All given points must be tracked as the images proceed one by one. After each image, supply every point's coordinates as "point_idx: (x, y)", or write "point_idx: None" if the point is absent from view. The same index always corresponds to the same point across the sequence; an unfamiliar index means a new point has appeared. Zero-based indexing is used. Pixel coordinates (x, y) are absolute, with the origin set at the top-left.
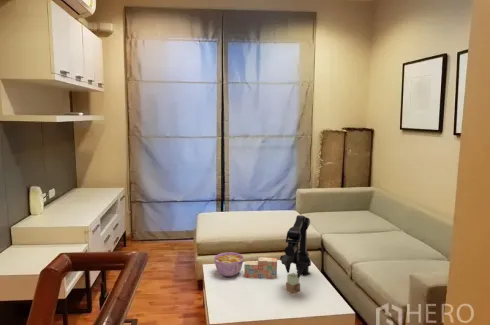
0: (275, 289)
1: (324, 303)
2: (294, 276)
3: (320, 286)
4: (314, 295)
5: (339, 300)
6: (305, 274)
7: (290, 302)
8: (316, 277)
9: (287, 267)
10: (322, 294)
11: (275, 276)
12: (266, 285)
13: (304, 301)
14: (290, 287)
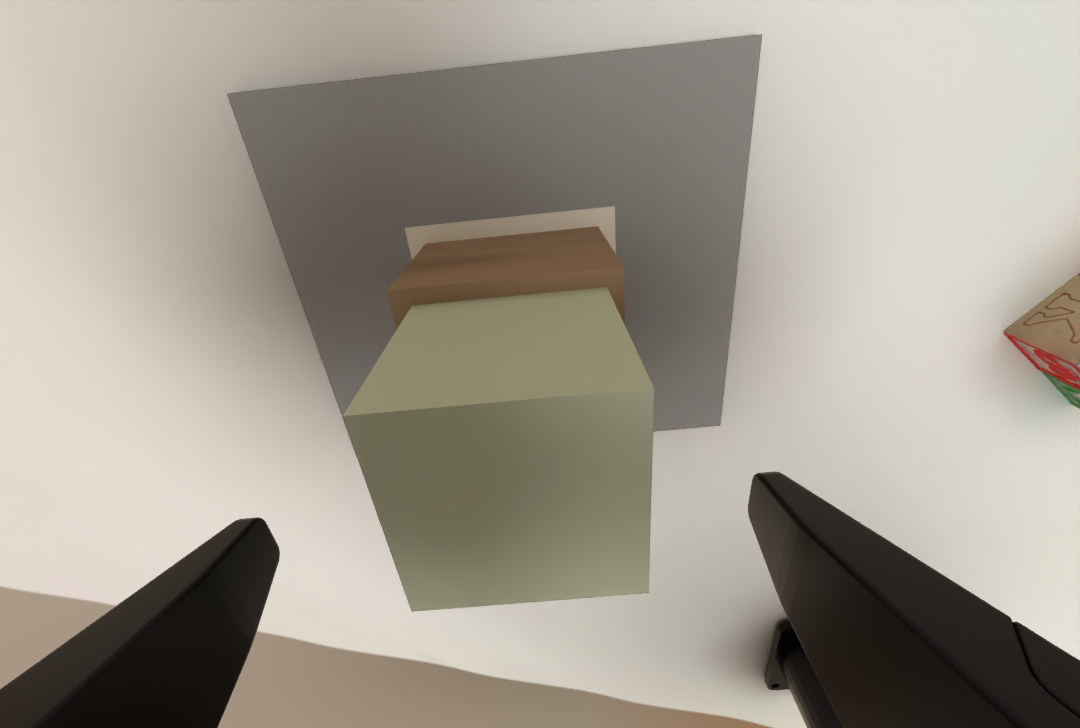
0: (764, 80)
1: (63, 457)
2: (410, 499)
3: (479, 621)
4: (303, 476)
5: (120, 600)
6: (777, 649)
7: (165, 9)
8: (663, 680)
9: (913, 677)
10: (300, 551)
11: (1067, 341)
12: (1024, 9)
13: (160, 271)
14: (471, 264)
